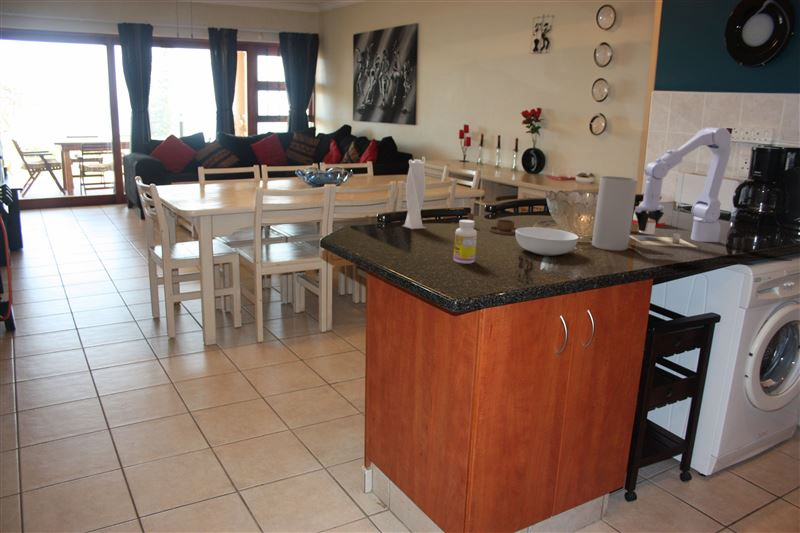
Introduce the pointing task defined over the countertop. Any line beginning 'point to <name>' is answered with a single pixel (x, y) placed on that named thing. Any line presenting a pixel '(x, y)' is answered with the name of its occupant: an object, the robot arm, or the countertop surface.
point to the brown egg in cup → (649, 227)
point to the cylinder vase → (614, 213)
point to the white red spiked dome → (660, 222)
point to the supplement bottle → (465, 242)
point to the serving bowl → (546, 240)
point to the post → (676, 238)
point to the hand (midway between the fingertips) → (646, 230)
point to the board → (665, 242)
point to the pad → (645, 238)
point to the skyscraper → (415, 194)
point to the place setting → (500, 226)
